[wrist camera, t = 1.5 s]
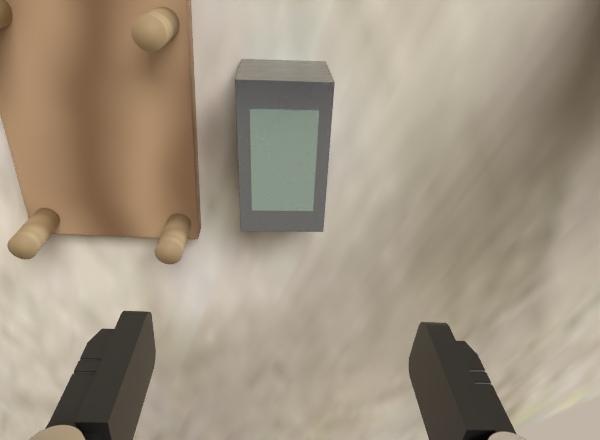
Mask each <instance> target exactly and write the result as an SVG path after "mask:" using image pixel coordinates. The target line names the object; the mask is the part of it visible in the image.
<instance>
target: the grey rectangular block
mask: <svg viewBox="0 0 600 440" xmlns="http://www.w3.org/2000/svg"><path fill="white" fill-rule="evenodd" d="M235 87H236V114H237V142H238V169H239V197H240V224H241V231H298V232H323V227H324V214H325V200H326V187H327V174H328V161H329V147H330V134H331V121H332V108H333V94H334V80H333V78H332V75H331V73H330V71H329V68H328V66H327V64H326V62H323V61H289V60H255V59H242V60H241V63H240V66H239V69H238V72H237V76H236V79H235Z"/></svg>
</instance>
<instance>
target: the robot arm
mask: <svg viewBox="0 0 600 440" xmlns="http://www.w3.org/2000/svg"><path fill="white" fill-rule="evenodd" d="M154 363H155V340H154V332H153V323H152V315H151V313H150V312H140V311H123V312H122V314H121V316H120V318H119V320H118V322H117V325H116V327H115V329H101V330H100V331H99V332H98V333H97V334H96V335H95V336H94V337H93V338H92V339H91V340H90V341H89V342H88V343H87V345H86V347H85V349H84V351H83V354H82V356H81V358H80V361H79V362H78V364H77V366H76V368H75V370H74V374H72V376H71V378H70V380H69V383H68V385H67V387H66V389H65V391H64V393H63V395H62V397H61V399H60V401H59V403H58V405H57V407H56V409H55V411H54V414H53V416H52V418H51V420H50V422H49V423H48V425H47V427H46V428H45V429H44V430H42V431H40V432H38V433H37V434H35V435H34V436H33V437H31V438H30V439H29V440H133V436H134V433H135V430H136V426H137V423H138V420H139V416H140V413H141V409H142V406H143V403H144V399H145V396H146V393H147V389H148V386H149V383H150V379H151V376H152V372H153V369H154ZM409 374H410V379H411V382H412V385H413V389H414V392H415V395H416V398H417V402H418V405H419V408H420V411H421V415H422V418H423V421H424V424H425V428H426V431H427V434H428V437H429V440H526V439H524V438H523V437H521V436H519V435H517V434H516V432H515V430H514V428H513V426H512V424H511V422H510V420H509V418H508V416H507V414H506V412H505V410H504V408H503V406H502V404H501V402H500V400H499V398H498V396H497V394H496V392H495V390H494V387H493V385H491V381H490V379H489V377H488V375H487V373H485V369H484V367H483V365H482V363H481V361H480V359H479V357H478V355H477V354H476V353H475V352H474V351H473V350H472V348H471V347H470V346H469V345H468V344H467V343H466V342H465V341H456V340H455V338H454V336H453V334H452V331H451V329H450V327H449V325H448V324H447V323H433V322H421V323H420V325H419V327H418V330H417V333H416V337H415V340H414V343H413V347H412V350H411V354H410V357H409Z"/></svg>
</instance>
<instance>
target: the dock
mask: <svg viewBox="0 0 600 440" xmlns="http://www.w3.org/2000/svg"><path fill="white" fill-rule="evenodd" d="M0 114H1V118H2V121H3V125H4V129H5V132H6V136H7V140H8V143H9V147H10V151H11V154H12V158H13V162H14V165H15V169H16V173H17V176H18V180H19V184H20V187H21V191H22V195H23V198H24V202H25V206H26V209H27V213H28V217H29V220H28V221H27V222H26V223H25V224H24V225H23V226H22V227H21V228H20V229H19V230H18V232H17V233H16V234H15V235H14V236H13V237H12V238H11V239H10V240H9V242H8V249H9V251H10V252H11V253H12V254H13V255H14V256H16V257H18V258H21V259H30V258H32V257H34V256H35V255H36V253H37V252H38V251H39V250H40V248H41V247H42V246H43V244H44V243H45V242H46V241H47V239H48V238H49V237H50V236H51V234H78V235H104V236H131V237H157V238H160V240H159V242H158V245H157V247H156V250H155V255H156V257H157V258H158V259H159V260H160V261H161V262H163V263H166V264H174V263H177V262H178V261H179V260H180V259H181V257H182V254H183V250H184V247H185V244H186V241H187V239H198V237H199V233H200V229H201V218H200V195H199V173H198V151H197V128H196V106H195V83H194V61H193V39H192V16H191V0H0Z"/></svg>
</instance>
